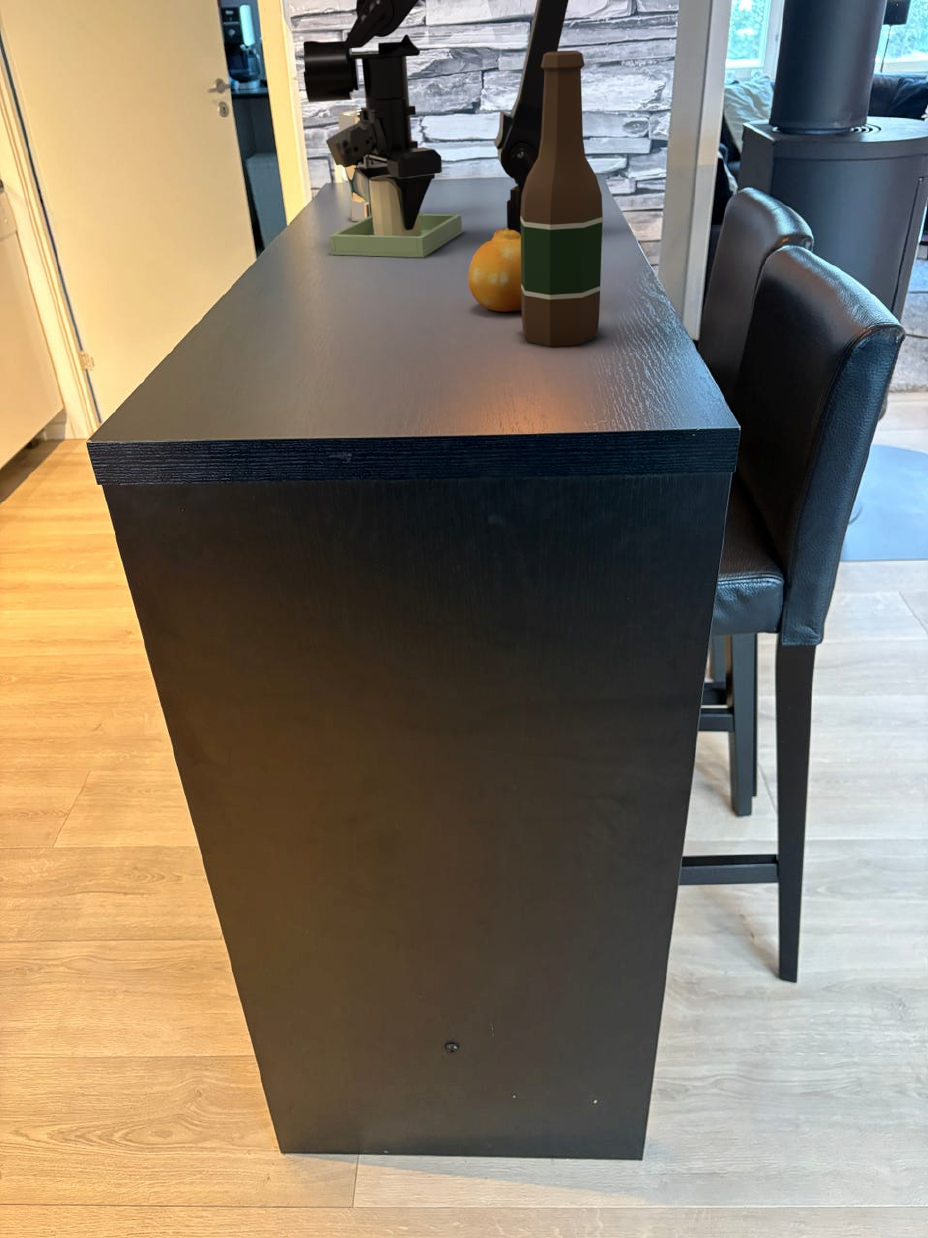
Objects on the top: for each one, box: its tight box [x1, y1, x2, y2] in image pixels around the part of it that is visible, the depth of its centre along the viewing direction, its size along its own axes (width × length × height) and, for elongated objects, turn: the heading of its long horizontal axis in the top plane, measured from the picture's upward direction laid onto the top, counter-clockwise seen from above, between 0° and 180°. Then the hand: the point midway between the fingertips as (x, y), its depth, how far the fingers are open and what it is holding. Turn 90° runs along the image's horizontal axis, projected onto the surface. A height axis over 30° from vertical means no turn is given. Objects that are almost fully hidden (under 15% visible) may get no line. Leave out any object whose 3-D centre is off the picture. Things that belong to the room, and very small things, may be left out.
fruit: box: [468, 227, 522, 313], centre depth 99 cm, size 8×8×8 cm
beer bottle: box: [520, 50, 604, 348], centre depth 85 cm, size 8×8×24 cm
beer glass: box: [337, 109, 372, 223], centre depth 144 cm, size 7×7×15 cm
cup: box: [369, 175, 421, 237], centre depth 129 cm, size 7×7×8 cm
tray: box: [328, 213, 463, 259], centre depth 131 cm, size 14×16×2 cm
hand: (397, 225), depth 130 cm, fingers open, 7 cm apart
